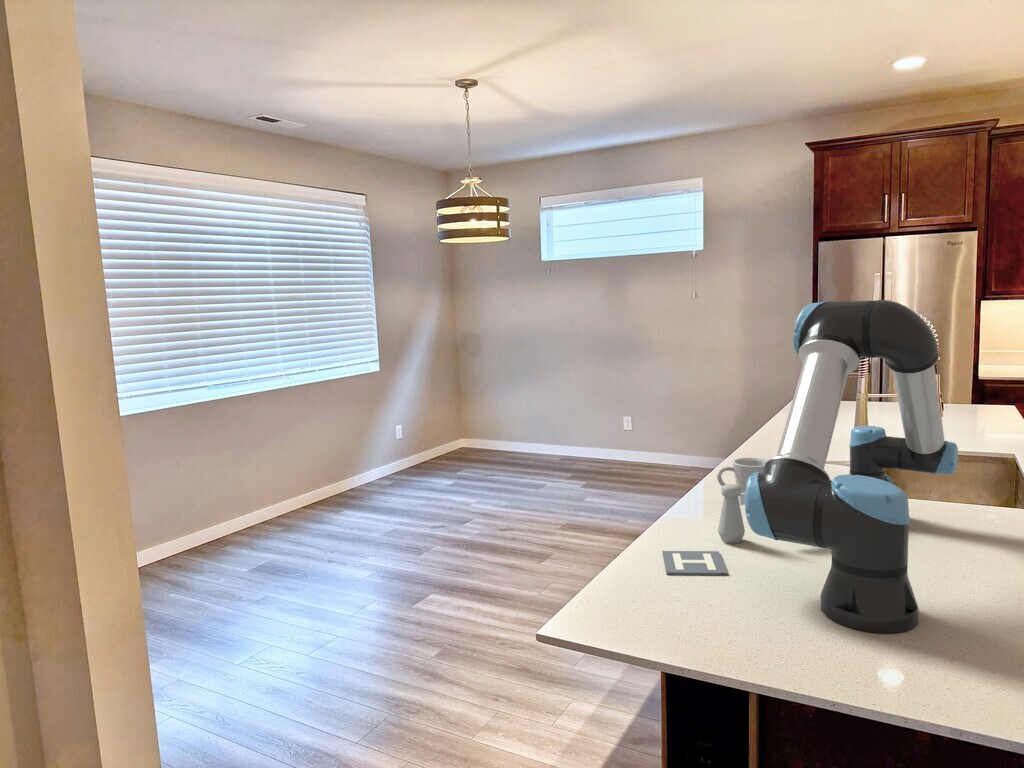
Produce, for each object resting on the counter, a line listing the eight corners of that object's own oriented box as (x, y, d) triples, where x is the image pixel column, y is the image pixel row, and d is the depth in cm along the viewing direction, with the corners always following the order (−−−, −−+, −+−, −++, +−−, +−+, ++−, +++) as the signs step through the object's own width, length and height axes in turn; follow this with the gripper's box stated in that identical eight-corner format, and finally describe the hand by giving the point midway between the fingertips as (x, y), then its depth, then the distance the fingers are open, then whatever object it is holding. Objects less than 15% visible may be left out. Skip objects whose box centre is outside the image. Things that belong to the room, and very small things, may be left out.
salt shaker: (727, 546, 155) (726, 490, 153) (713, 538, 160) (712, 483, 159) (750, 543, 156) (749, 486, 155) (735, 535, 162) (735, 480, 160)
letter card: (727, 575, 139) (727, 572, 139) (666, 574, 141) (666, 572, 141) (718, 553, 151) (718, 551, 151) (662, 553, 153) (662, 550, 153)
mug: (778, 502, 185) (778, 465, 184) (722, 504, 186) (722, 467, 184) (765, 491, 196) (765, 456, 194) (712, 493, 196) (711, 458, 195)
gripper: (874, 526, 154) (793, 539, 148) (797, 497, 178) (725, 508, 172) (874, 493, 153) (793, 505, 147) (798, 468, 177) (725, 478, 171)
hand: (756, 507), depth 160 cm, fingers open, 13 cm apart
